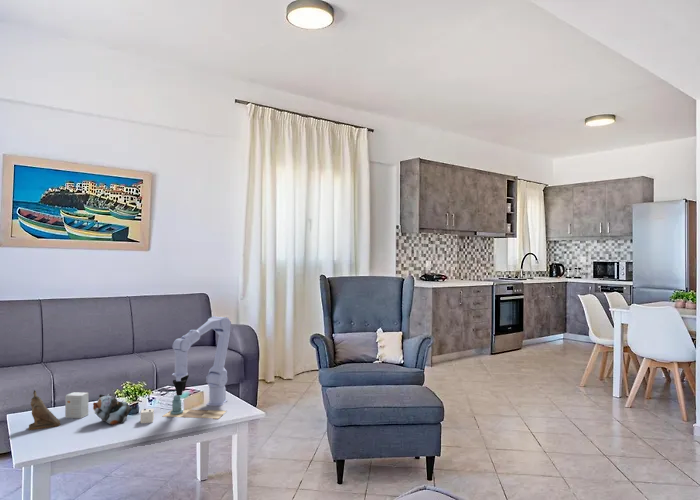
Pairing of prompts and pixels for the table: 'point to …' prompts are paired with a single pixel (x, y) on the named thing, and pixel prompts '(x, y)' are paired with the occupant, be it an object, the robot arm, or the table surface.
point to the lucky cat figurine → (111, 409)
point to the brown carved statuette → (41, 415)
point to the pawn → (176, 406)
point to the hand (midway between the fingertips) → (180, 393)
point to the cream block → (147, 415)
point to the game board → (198, 414)
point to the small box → (76, 405)
